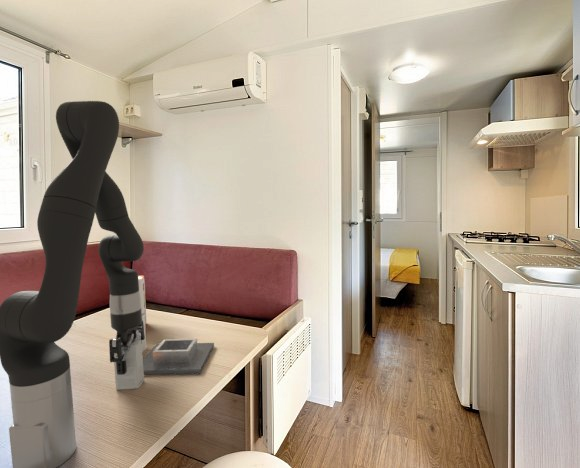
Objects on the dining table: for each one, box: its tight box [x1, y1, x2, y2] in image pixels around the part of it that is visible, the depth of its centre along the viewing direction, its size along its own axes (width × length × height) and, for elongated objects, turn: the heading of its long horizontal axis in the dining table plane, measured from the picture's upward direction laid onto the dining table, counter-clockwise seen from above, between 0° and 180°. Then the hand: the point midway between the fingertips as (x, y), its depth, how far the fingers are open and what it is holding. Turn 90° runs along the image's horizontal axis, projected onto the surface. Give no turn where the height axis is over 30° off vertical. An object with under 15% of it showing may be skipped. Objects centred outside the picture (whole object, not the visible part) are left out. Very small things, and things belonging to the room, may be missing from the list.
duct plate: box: [142, 338, 215, 376], centre depth 102 cm, size 18×20×5 cm
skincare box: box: [113, 340, 145, 391], centre depth 87 cm, size 6×4×12 cm
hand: (130, 365), depth 87 cm, fingers open, 8 cm apart
